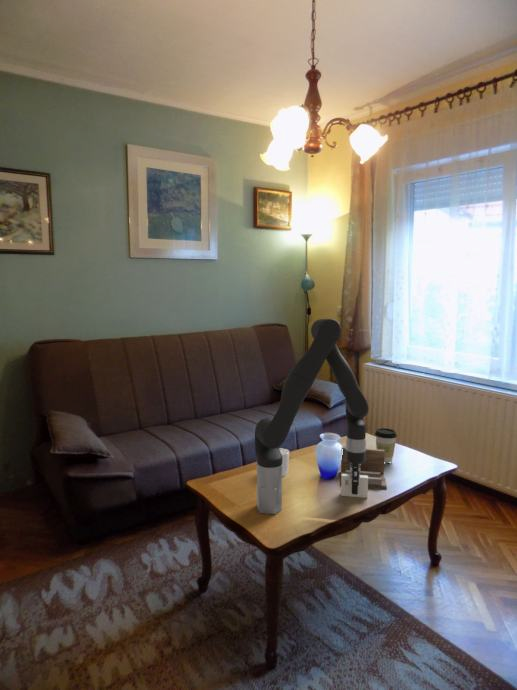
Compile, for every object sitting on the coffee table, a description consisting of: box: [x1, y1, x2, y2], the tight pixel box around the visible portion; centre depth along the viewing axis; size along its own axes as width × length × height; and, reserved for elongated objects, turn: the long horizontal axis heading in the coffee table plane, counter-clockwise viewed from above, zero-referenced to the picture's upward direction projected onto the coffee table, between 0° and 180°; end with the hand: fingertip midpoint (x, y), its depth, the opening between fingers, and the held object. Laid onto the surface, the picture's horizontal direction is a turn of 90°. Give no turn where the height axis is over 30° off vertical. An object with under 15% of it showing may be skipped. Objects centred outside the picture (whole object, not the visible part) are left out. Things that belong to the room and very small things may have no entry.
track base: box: [340, 446, 388, 490], centre depth 187 cm, size 14×18×11 cm
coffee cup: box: [374, 427, 398, 463], centre depth 206 cm, size 10×10×15 cm
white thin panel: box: [340, 474, 369, 499], centre depth 173 cm, size 2×10×8 cm, turn 80°
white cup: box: [279, 447, 290, 477], centre depth 193 cm, size 8×8×10 cm
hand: (354, 490), depth 173 cm, fingers open, 5 cm apart
